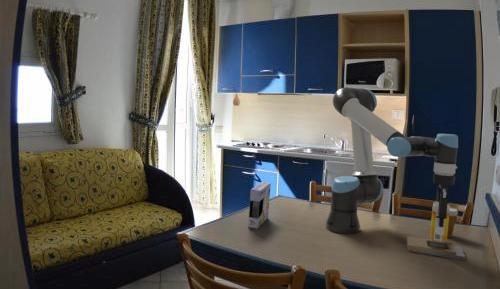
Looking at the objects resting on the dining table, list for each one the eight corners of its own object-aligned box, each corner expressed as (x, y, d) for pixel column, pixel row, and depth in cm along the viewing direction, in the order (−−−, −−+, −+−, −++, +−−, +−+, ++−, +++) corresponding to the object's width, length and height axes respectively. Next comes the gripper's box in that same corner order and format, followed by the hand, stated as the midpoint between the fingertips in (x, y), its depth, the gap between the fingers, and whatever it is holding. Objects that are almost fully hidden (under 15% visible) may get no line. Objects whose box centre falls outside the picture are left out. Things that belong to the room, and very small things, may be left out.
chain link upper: (407, 250, 152) (407, 244, 152) (406, 241, 163) (407, 236, 163) (455, 258, 146) (456, 252, 146) (451, 248, 157) (451, 242, 157)
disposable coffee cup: (458, 239, 169) (461, 212, 168) (435, 237, 171) (437, 210, 170) (452, 232, 178) (454, 207, 177) (429, 230, 180) (432, 205, 179)
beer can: (446, 239, 155) (449, 202, 153) (447, 244, 149) (450, 205, 148) (429, 236, 157) (433, 200, 156) (429, 241, 152) (433, 203, 150)
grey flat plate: (421, 253, 150) (422, 250, 150) (420, 243, 161) (420, 240, 161) (465, 260, 145) (465, 256, 145) (460, 249, 156) (460, 246, 156)
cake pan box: (257, 229, 170) (259, 190, 168) (246, 228, 172) (248, 188, 170) (269, 218, 188) (271, 182, 186) (259, 217, 190) (261, 181, 188)
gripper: (458, 178, 140) (452, 241, 143) (451, 171, 158) (446, 226, 160) (435, 176, 143) (430, 237, 145) (431, 169, 161) (426, 224, 163)
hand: (438, 231), depth 153 cm, fingers closed on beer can, 6 cm apart
